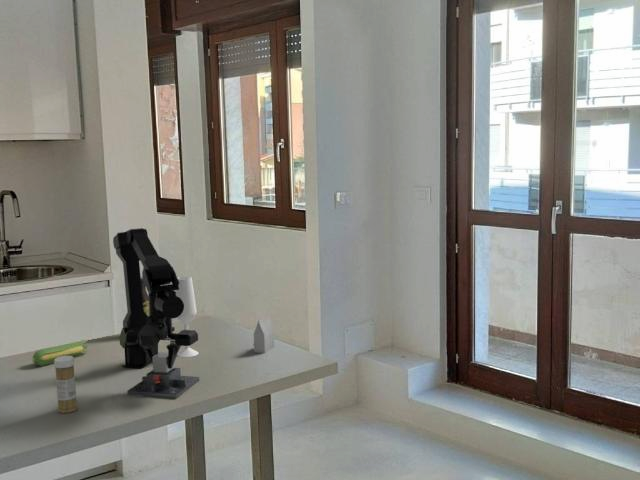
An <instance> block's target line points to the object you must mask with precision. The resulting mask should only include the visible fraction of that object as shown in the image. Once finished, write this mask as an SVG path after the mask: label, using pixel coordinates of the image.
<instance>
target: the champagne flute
mask: <svg viewBox="0 0 640 480" xmlns="http://www.w3.org/2000/svg"><path fill="white" fill-rule="evenodd" d="M177 278H178V281H179V290H175V292H176V296H177V297H179V298H180V299H181V300H182V301H183V303H184V310H183V312H182V314H181V315H180V316H178V317H177V320H178V321H179V322H180V323H182V324H184V330H189V324H190V323H191V322H192V321H193V320H194V318H195V317H196V315H197V312H198V311H197V310H198V309H197V303H196V295H195V291H194V282H193V278H192V276H189V275H187V276H185V275H184V276H177ZM198 355H199V352H198V351H197V350H195V349H193V348H191V347H190V346H184V349H182V350H179V351H178V353H177V356H176V357H180V358H190V357H195V356H198Z"/></svg>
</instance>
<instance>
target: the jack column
mask: <svg viewBox="0 0 640 480" xmlns="http://www.w3.org/2000/svg"><path fill="white" fill-rule="evenodd" d="M152 361H153V363H152V370H153V374H163V375H168V374H170V373H171V372H172V371H174V368H175V366H174V364H173V367H172V368H171V369H170V368H169V358H168V352H161V351H160V352H159V351H158V354H156V355H154V356H153V357H152Z"/></svg>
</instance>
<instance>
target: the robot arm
mask: <svg viewBox="0 0 640 480" xmlns="http://www.w3.org/2000/svg"><path fill="white" fill-rule="evenodd" d="M148 235H149V234H148V230H147V229H146V228H143V227H141V228H139V227H138V228H131V229H128V230H126V231H121V232H117V233H116V235H115V236H113V239H112V243H113V248H114V249H115V253H116V256H117V257H118V258H119V259H120V261H121V262H122V267H123V278H124V287H125V288H124V289H125V299H126V308H127V309H126V310H127V312H126V314H125V317H124V318H123V320H122V328H121V331H120V335H119V338H118V339H119V345H120V346H121V347H122V348H123V349H124V364H122V367H123V368H131V369H132V368H133V369H134V368H135V369H143V368H145V367H147V366H148V365H149V364H151V363H152V364H153V361H152V357H153V356H154V355H156V354H158V353H159V342H160V341H169V344H167V345H166V349H167V351H168V352H167V353H168V358H169V368H170V369H171V368H172V367H173V364H174V363H175V360H176V359H177V357H178V356H177V353H179V352H180V348H181V346H183V347H185V346H189V347H190V346H192V345H193V344H195V343H197V342H198V341H199V334H198V332H197V330H191V329H188V330H185V329H183V330H181V331H179V332H178V333H176V332H175V327H174V326H173V319H176V318H177V317H178V316H180V315H181V314H182V312H183V310H184V303H183V301H182V300H181V299H180V298H179V297H177V296H176V290H179V281H178V278H177V277H178V276H177V274H176V271H175V269H174V267H173V266H172V265H171V264H170V262H169V261H168V260H167V258H163V257H162V256H160V255H159V254H158V252H157V250H156V248H155V247H154V245H153V243H152V241H151V239H150V238H149V236H148ZM140 263H141V264H140ZM140 265H142V272H141V267H140ZM141 274H142V275H141ZM141 277H142V278H143V281H144V284H145V286H146V291H147V294H148V297H149V316H147V314H146V313H145V312H144V307H143V297H142V286H141ZM174 332H175V333H174Z"/></svg>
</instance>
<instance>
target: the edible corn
mask: <svg viewBox="0 0 640 480" xmlns="http://www.w3.org/2000/svg"><path fill="white" fill-rule="evenodd" d="M87 342H88V340H87V339H86V340H85V339H84V340H79V341H75V342H71V343H66V344H61V345H55V346H50V347H46V348H41V349H38V350H37V351H35V352H34V354H33V356H32V358H31V361H32V362H33V363H34V364H35V365H36V366H40V367H45V366H49V365H54V360H55V358H57V357H60V356H72V357H74V358H77V357H80V356H83V355H85V354H86V353H87V349H89V346H88V345H86V344H85V343H87ZM84 344H85V345H84Z"/></svg>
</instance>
